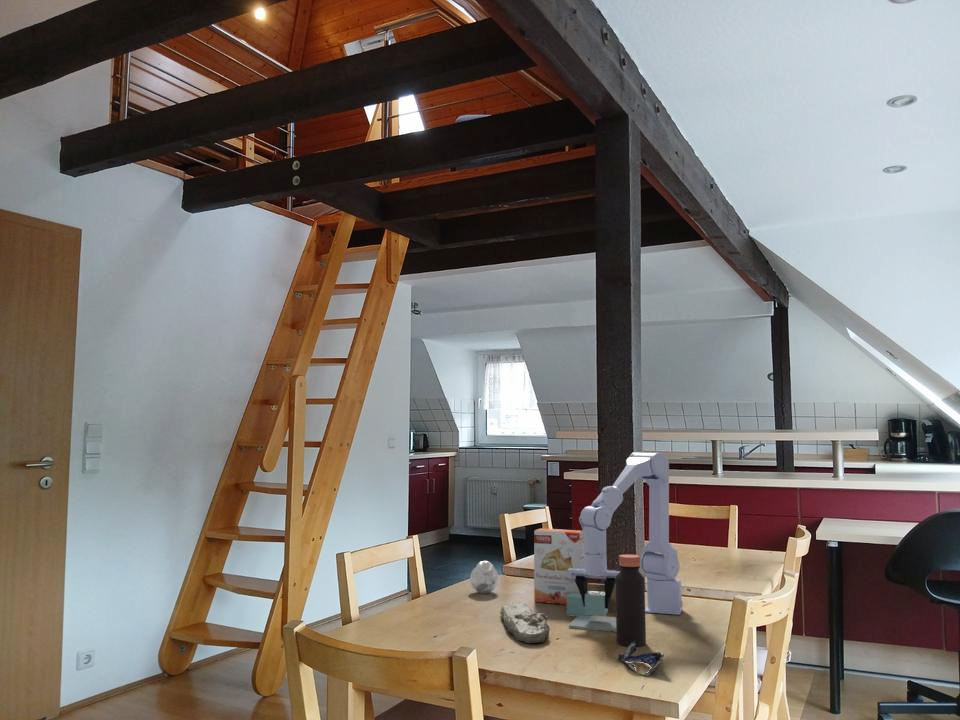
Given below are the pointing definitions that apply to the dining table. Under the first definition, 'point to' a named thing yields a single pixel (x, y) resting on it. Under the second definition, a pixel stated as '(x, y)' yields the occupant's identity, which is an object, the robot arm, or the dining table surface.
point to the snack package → (641, 658)
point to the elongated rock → (525, 623)
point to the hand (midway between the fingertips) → (596, 606)
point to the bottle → (630, 602)
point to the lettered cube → (595, 603)
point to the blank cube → (575, 604)
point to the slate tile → (594, 623)
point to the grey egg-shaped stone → (484, 577)
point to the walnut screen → (602, 589)
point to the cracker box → (556, 563)
